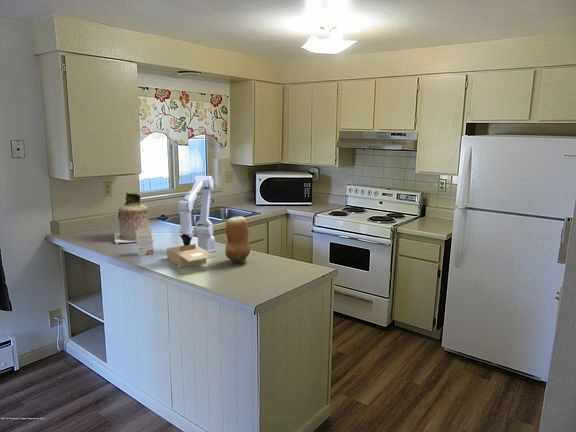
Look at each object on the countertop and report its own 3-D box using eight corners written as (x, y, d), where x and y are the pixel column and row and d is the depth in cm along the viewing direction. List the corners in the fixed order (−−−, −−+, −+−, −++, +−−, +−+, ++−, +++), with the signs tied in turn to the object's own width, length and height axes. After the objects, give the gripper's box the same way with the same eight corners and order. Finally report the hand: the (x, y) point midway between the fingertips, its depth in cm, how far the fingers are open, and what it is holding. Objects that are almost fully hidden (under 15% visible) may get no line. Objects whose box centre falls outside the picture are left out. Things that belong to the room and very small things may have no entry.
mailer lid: (199, 247, 233) (199, 242, 233) (216, 257, 217) (215, 251, 216) (173, 252, 225) (173, 246, 225) (188, 261, 209) (188, 255, 208)
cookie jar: (156, 241, 271) (153, 191, 265) (114, 245, 262) (110, 193, 256) (153, 232, 294) (150, 186, 288) (114, 235, 285) (110, 188, 279)
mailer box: (191, 254, 243) (190, 244, 242) (206, 263, 227) (205, 252, 226) (167, 258, 235) (166, 248, 234) (181, 268, 219) (180, 256, 218)
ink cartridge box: (153, 252, 248) (152, 227, 245) (153, 254, 243) (151, 229, 240) (138, 253, 245) (136, 228, 242) (137, 255, 241) (135, 230, 238)
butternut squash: (223, 259, 233) (222, 215, 228) (247, 257, 238) (246, 213, 233) (229, 267, 221) (227, 220, 216) (254, 264, 225) (253, 218, 220)
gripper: (173, 221, 229) (174, 245, 232) (183, 226, 218) (185, 252, 220) (186, 219, 233) (187, 243, 236) (196, 224, 222) (197, 249, 224)
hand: (187, 247), depth 229 cm, fingers closed
